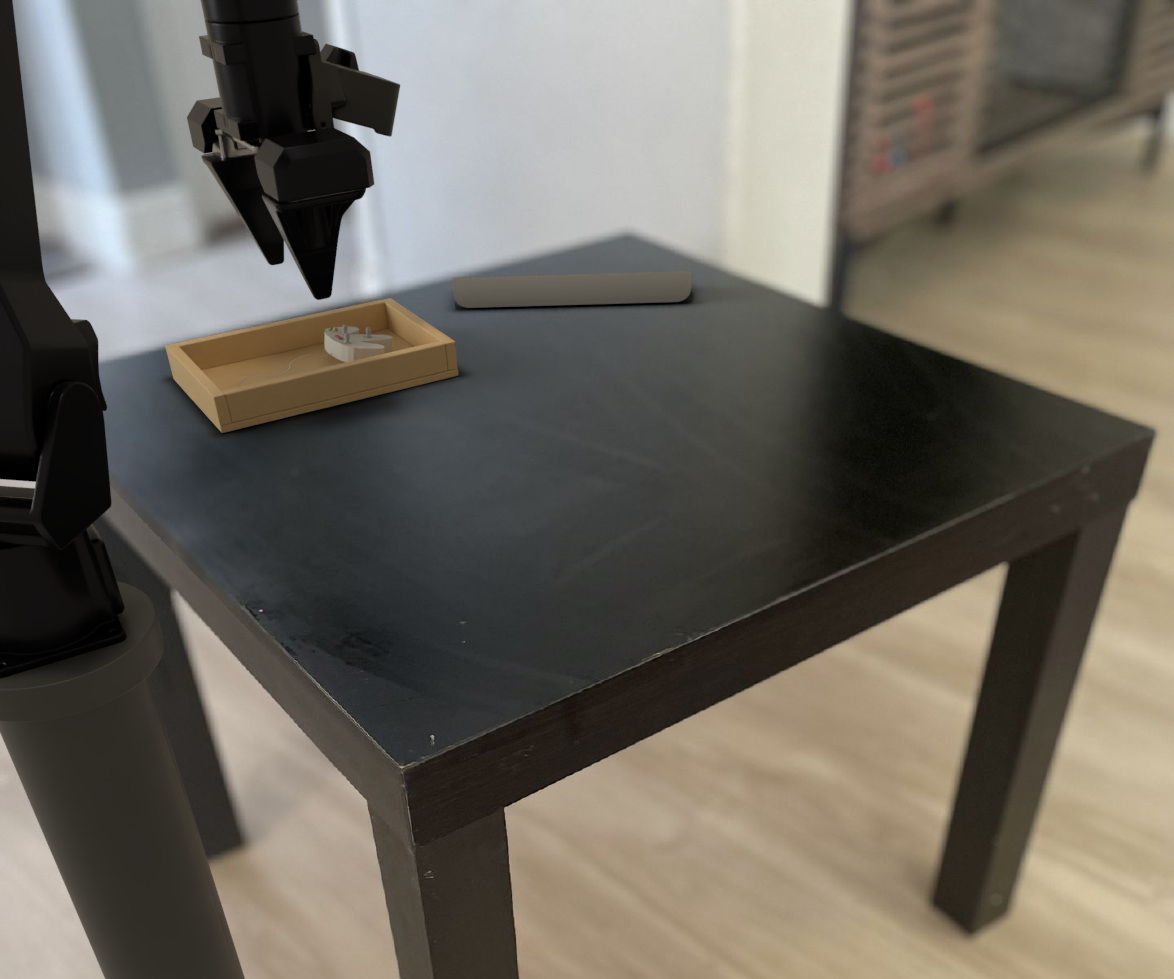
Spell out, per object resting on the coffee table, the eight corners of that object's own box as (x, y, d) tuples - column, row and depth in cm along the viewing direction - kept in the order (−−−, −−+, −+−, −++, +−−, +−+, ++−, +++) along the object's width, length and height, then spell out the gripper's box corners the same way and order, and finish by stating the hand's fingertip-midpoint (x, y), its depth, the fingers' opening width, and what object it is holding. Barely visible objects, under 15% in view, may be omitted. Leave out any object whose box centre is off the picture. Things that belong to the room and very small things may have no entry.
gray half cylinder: (457, 292, 102) (455, 270, 101) (690, 286, 101) (690, 264, 100) (452, 310, 99) (450, 287, 97) (693, 303, 98) (693, 280, 97)
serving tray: (221, 433, 81) (213, 397, 79) (173, 379, 89) (164, 345, 87) (459, 375, 88) (455, 340, 86) (394, 329, 95) (390, 297, 94)
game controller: (412, 357, 89) (408, 321, 88) (291, 410, 83) (283, 372, 81) (360, 341, 92) (354, 306, 90) (238, 391, 86) (230, 354, 84)
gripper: (436, 19, 71) (462, 293, 81) (321, -12, 83) (356, 229, 93) (253, 41, 67) (304, 328, 77) (160, 5, 79) (214, 255, 89)
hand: (298, 280), depth 84 cm, fingers open, 9 cm apart
